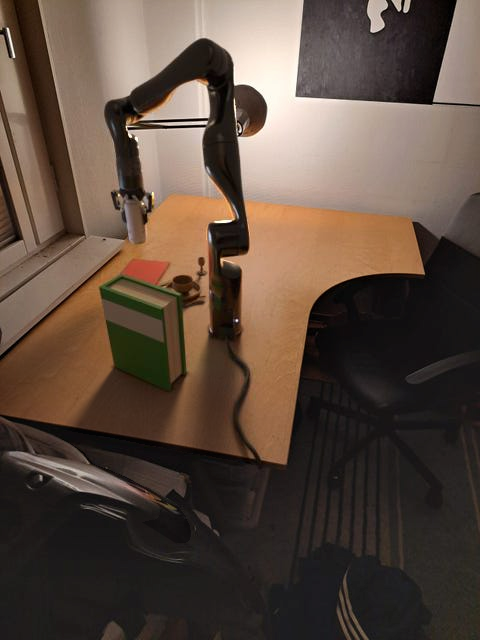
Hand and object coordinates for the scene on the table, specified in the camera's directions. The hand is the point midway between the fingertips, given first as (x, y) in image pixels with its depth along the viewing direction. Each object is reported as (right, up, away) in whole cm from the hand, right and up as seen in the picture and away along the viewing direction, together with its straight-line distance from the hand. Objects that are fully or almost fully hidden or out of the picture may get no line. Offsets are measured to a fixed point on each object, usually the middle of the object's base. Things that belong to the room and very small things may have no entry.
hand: (136, 222), depth 139 cm
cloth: (-1, -16, +11) cm, 19 cm away
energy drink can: (0, -6, +4) cm, 7 cm away
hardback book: (+11, -45, -30) cm, 55 cm away
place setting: (+18, -21, +4) cm, 28 cm away
